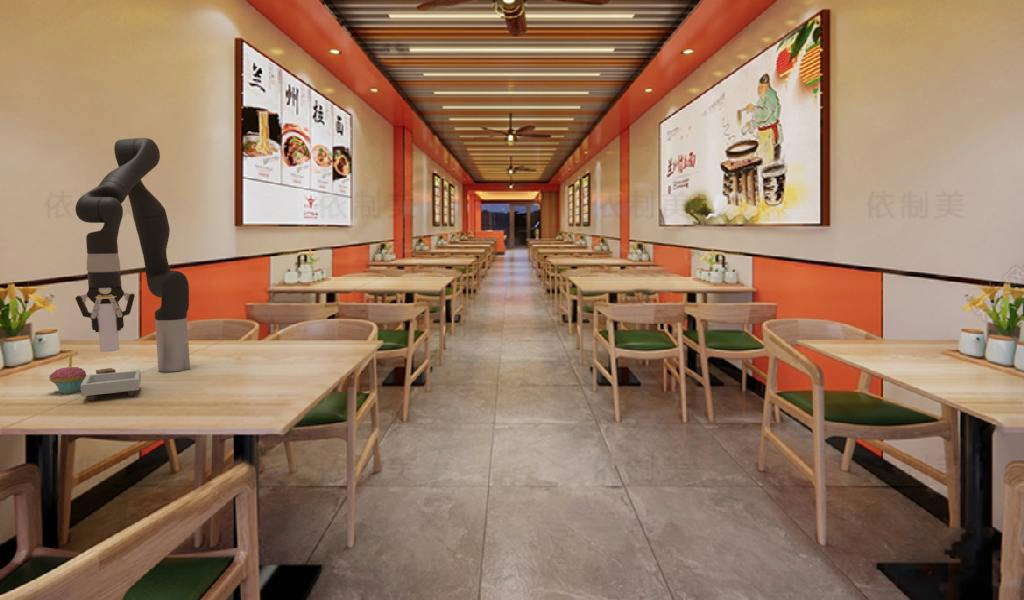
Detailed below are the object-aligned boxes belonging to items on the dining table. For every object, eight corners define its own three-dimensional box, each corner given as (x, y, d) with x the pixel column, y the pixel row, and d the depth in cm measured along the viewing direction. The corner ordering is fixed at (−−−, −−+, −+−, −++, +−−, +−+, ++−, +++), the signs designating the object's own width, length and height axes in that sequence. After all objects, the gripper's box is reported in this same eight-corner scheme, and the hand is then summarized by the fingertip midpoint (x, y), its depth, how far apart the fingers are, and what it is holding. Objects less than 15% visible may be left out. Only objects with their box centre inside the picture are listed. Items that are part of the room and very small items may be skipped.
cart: (141, 386, 174) (140, 370, 174) (139, 396, 163) (138, 379, 163) (88, 392, 168) (86, 375, 168) (81, 403, 157) (80, 385, 156)
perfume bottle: (105, 355, 161) (100, 283, 158) (92, 353, 163) (87, 282, 161) (126, 352, 166) (122, 281, 164) (114, 350, 168) (109, 280, 166)
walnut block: (112, 380, 182) (111, 367, 182) (116, 382, 180) (115, 369, 179) (96, 382, 179) (95, 370, 179) (100, 385, 176) (99, 372, 176)
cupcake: (94, 389, 171) (91, 348, 170) (64, 396, 163) (60, 354, 162) (74, 386, 174) (71, 346, 173) (43, 393, 166) (39, 352, 165)
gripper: (135, 268, 169) (139, 327, 171) (74, 270, 162) (78, 331, 163) (133, 270, 162) (137, 331, 164) (69, 271, 155) (74, 335, 157)
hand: (108, 330), depth 164 cm, fingers closed on perfume bottle, 4 cm apart
